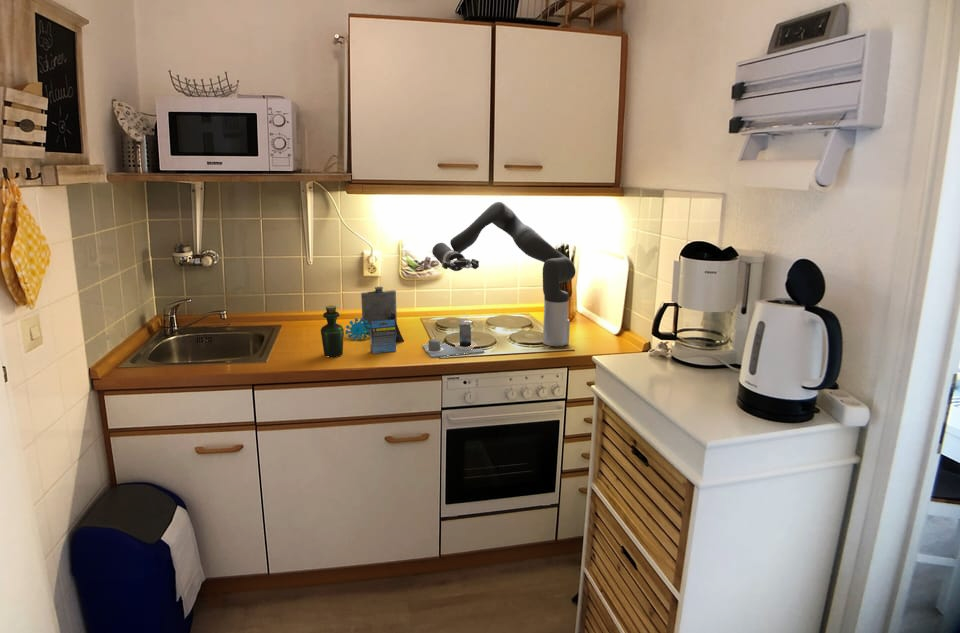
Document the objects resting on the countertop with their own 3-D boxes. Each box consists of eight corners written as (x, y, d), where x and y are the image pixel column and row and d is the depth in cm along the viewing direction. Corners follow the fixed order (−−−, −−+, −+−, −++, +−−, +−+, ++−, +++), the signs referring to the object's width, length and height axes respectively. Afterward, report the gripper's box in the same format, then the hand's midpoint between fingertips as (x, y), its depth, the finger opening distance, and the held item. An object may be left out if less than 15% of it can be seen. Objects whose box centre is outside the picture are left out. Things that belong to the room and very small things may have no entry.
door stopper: (381, 344, 242) (379, 314, 239) (377, 340, 248) (376, 310, 245) (403, 342, 245) (403, 312, 242) (400, 337, 251) (399, 308, 248)
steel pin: (469, 344, 240) (469, 318, 238) (472, 347, 236) (472, 322, 234) (457, 345, 239) (457, 319, 236) (461, 348, 235) (461, 323, 232)
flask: (398, 328, 264) (396, 286, 259) (363, 332, 259) (362, 289, 254) (396, 326, 267) (394, 284, 262) (362, 329, 262) (360, 287, 257)
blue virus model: (340, 336, 247) (350, 314, 252) (344, 343, 252) (354, 321, 257) (366, 342, 245) (376, 320, 249) (370, 349, 250) (379, 327, 254)
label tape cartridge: (394, 348, 237) (393, 316, 234) (396, 351, 234) (395, 319, 231) (370, 350, 234) (369, 318, 231) (372, 353, 231) (371, 321, 228)
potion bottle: (348, 356, 228) (345, 307, 224) (326, 359, 224) (323, 310, 219) (340, 350, 235) (337, 303, 230) (319, 353, 231) (316, 305, 226)
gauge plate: (472, 342, 246) (472, 331, 245) (484, 352, 233) (484, 342, 232) (421, 346, 239) (420, 336, 238) (430, 358, 227) (429, 347, 226)
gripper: (437, 252, 259) (447, 258, 244) (470, 250, 263) (482, 256, 248) (437, 270, 261) (448, 277, 246) (470, 268, 265) (482, 275, 250)
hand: (465, 267), depth 247 cm, fingers open, 8 cm apart
